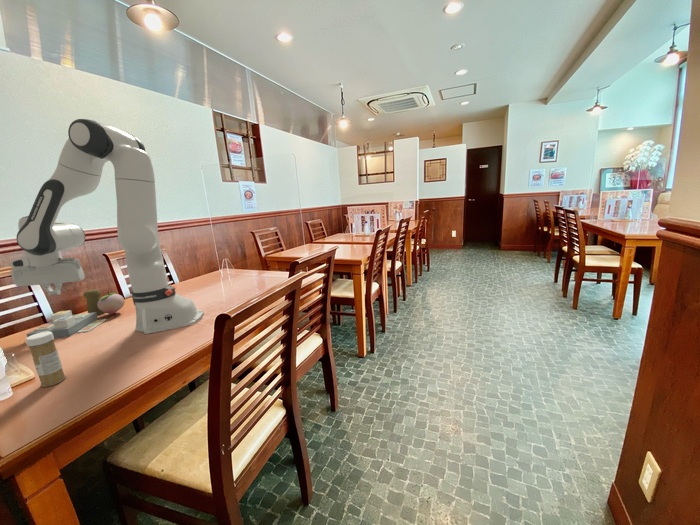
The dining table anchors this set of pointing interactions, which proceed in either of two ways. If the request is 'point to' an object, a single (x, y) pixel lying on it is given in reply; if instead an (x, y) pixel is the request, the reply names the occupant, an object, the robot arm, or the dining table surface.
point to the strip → (91, 326)
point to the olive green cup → (93, 301)
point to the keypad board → (69, 330)
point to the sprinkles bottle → (46, 358)
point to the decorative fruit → (111, 303)
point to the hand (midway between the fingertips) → (54, 294)
